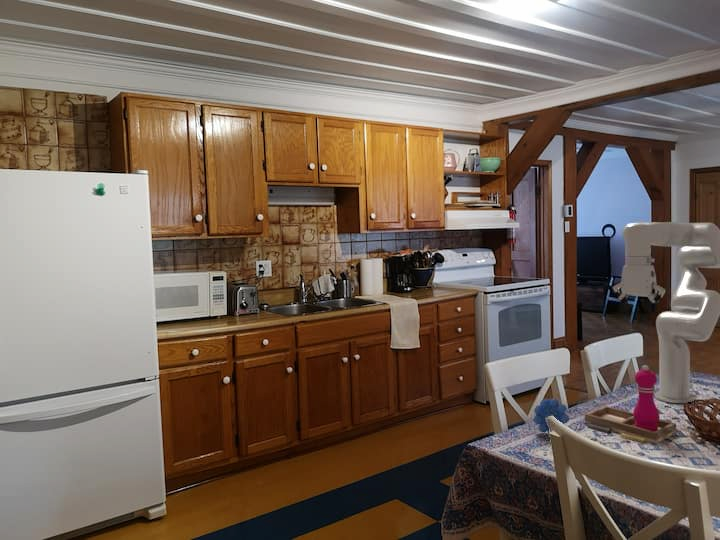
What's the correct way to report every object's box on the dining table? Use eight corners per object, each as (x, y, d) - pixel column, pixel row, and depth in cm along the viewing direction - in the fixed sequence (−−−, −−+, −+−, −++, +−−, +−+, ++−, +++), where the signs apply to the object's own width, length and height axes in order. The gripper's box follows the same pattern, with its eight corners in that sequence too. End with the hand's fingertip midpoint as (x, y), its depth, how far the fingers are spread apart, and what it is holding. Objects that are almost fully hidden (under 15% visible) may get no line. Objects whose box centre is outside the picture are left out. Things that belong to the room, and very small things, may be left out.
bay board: (605, 414, 191) (605, 405, 191) (676, 433, 173) (676, 423, 172) (580, 425, 183) (580, 416, 183) (651, 445, 164) (651, 435, 164)
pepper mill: (658, 435, 169) (657, 369, 168) (632, 431, 173) (630, 367, 172) (660, 427, 175) (659, 363, 174) (634, 423, 179) (633, 361, 178)
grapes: (575, 435, 174) (575, 397, 173) (565, 442, 170) (564, 403, 169) (541, 427, 183) (540, 390, 182) (530, 433, 178) (529, 395, 177)
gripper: (670, 261, 182) (670, 314, 183) (619, 260, 196) (619, 309, 197) (658, 263, 177) (659, 317, 179) (606, 261, 191) (607, 311, 193)
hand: (638, 312), depth 188 cm, fingers open, 9 cm apart
